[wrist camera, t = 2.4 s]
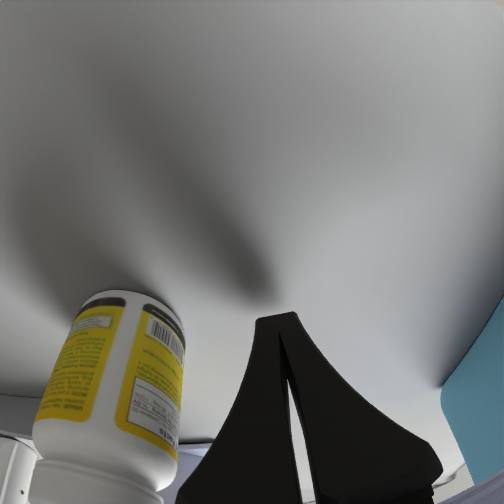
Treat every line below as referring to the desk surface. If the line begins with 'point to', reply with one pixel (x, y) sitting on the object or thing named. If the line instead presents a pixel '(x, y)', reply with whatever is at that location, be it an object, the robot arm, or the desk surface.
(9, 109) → the desk surface
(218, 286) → the desk surface
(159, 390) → the supplement bottle
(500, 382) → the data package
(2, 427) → the bay
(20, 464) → the photo printer
